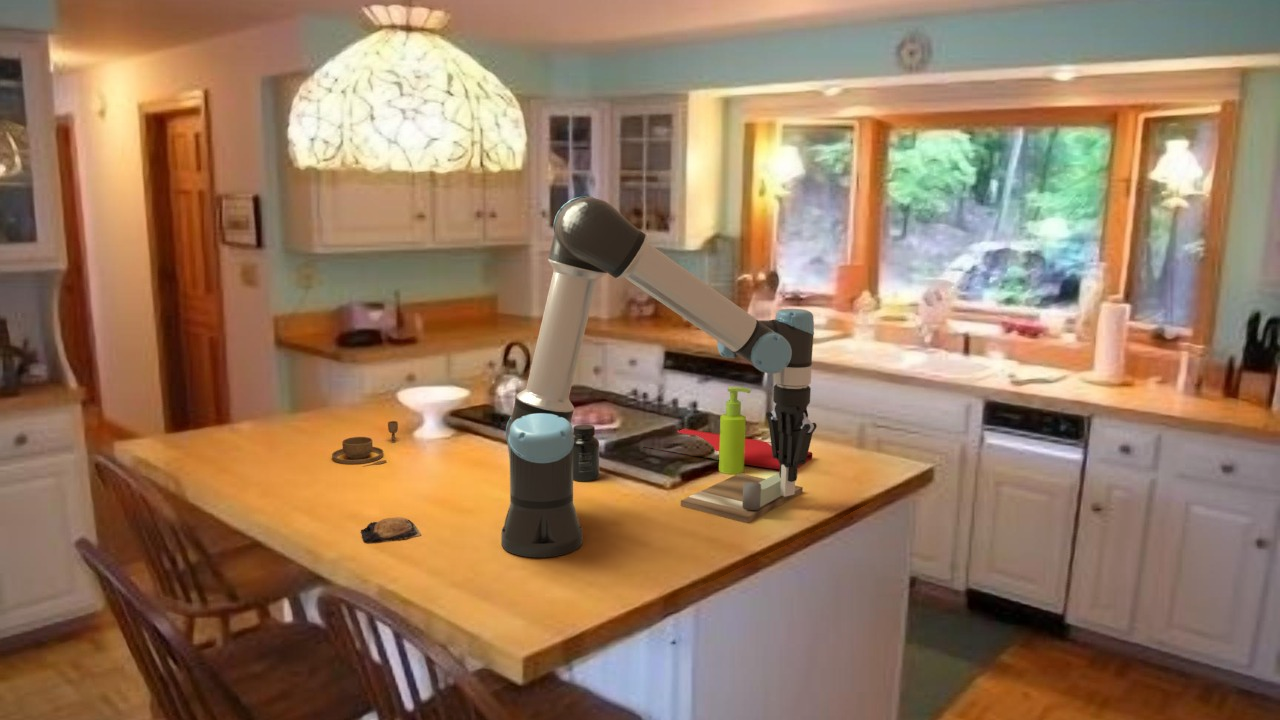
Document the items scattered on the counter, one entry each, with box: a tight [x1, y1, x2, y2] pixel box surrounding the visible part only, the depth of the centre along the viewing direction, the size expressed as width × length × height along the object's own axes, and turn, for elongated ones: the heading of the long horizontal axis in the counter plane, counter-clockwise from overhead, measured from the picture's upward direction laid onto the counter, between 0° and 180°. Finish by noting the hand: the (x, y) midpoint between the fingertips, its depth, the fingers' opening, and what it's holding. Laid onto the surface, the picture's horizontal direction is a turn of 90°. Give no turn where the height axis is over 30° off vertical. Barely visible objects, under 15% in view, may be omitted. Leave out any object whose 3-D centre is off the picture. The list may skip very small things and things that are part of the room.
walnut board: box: [680, 473, 804, 524], centre depth 202 cm, size 24×16×1 cm, turn 143°
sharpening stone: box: [742, 472, 782, 510], centre depth 197 cm, size 16×4×5 cm, turn 143°
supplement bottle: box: [573, 423, 600, 482], centre depth 214 cm, size 7×7×12 cm
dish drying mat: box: [677, 428, 813, 470], centre depth 236 cm, size 16×41×4 cm, turn 58°
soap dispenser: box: [718, 386, 752, 475], centre depth 220 cm, size 6×7×20 cm
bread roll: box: [359, 516, 422, 545], centre depth 180 cm, size 11×8×4 cm
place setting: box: [331, 420, 399, 468], centre depth 231 cm, size 18×20×6 cm
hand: (787, 494), depth 198 cm, fingers closed
